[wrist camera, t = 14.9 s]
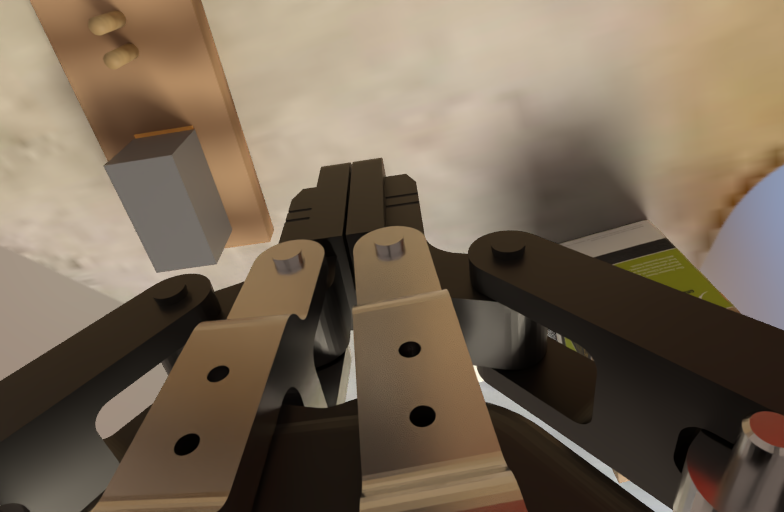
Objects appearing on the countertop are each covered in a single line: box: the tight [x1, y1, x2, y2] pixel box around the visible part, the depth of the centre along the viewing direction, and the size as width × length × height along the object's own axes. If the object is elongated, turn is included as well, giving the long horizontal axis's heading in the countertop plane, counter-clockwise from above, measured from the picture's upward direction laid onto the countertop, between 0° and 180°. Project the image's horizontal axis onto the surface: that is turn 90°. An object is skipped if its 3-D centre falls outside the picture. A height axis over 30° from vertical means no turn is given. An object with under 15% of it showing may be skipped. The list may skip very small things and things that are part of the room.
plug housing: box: [104, 129, 232, 273], centre depth 37 cm, size 9×5×5 cm, turn 9°
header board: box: [30, 0, 274, 248], centre depth 36 cm, size 22×10×5 cm, turn 8°
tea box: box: [556, 220, 741, 483], centre depth 43 cm, size 15×10×15 cm, turn 18°
